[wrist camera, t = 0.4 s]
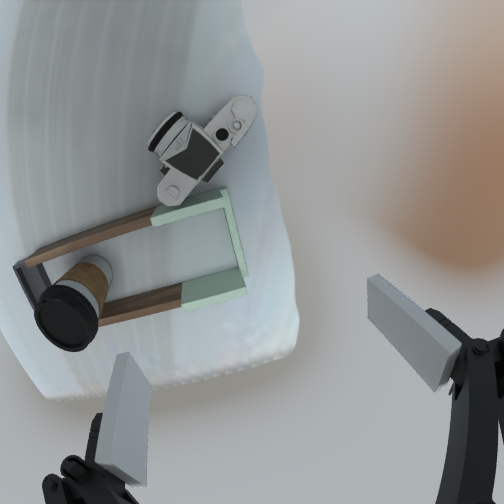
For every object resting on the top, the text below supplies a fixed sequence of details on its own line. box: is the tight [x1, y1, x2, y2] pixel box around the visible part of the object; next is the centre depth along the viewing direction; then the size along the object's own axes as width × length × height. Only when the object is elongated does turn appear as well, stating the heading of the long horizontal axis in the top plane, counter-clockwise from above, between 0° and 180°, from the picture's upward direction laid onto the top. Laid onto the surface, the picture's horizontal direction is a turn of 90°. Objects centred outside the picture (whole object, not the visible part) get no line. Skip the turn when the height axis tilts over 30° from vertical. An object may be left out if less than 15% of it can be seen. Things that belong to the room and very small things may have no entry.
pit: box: [13, 259, 52, 311], centre depth 37 cm, size 12×6×2 cm, turn 12°
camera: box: [147, 95, 257, 206], centre depth 31 cm, size 16×9×10 cm, turn 139°
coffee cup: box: [34, 255, 112, 352], centre depth 32 cm, size 8×8×15 cm
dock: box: [150, 187, 248, 312], centre depth 37 cm, size 13×10×6 cm
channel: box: [24, 207, 182, 327], centre depth 37 cm, size 13×22×5 cm, turn 102°
